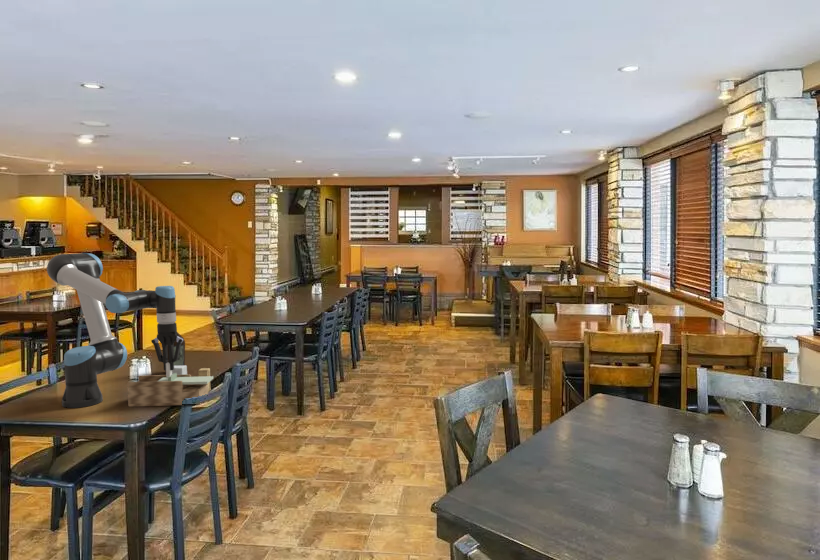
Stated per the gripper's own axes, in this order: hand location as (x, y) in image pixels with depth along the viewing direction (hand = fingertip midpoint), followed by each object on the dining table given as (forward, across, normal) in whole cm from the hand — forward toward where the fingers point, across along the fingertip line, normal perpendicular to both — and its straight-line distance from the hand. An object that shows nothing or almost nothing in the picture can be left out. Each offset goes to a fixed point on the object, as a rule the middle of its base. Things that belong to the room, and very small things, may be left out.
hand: (169, 377), depth 248 cm
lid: (+2, +6, 0) cm, 7 cm away
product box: (+11, -8, +34) cm, 36 cm away
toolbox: (+10, -1, 0) cm, 10 cm away
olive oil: (+10, -16, +52) cm, 55 cm away
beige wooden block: (+10, +10, +15) cm, 21 cm away
